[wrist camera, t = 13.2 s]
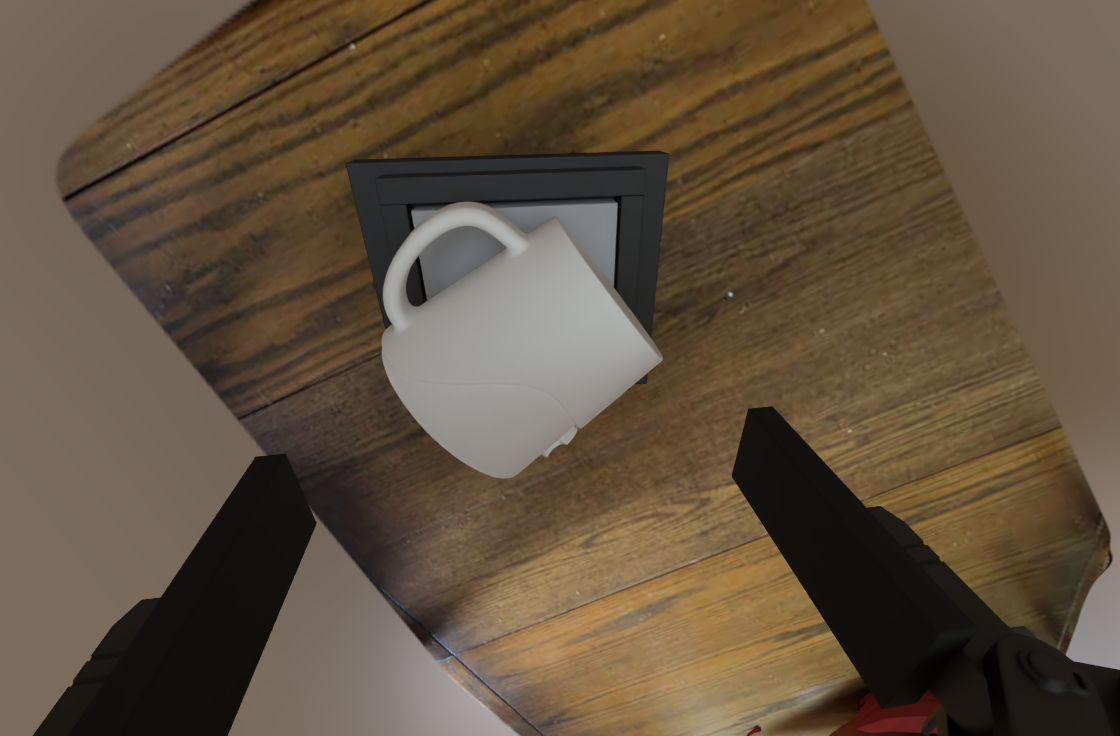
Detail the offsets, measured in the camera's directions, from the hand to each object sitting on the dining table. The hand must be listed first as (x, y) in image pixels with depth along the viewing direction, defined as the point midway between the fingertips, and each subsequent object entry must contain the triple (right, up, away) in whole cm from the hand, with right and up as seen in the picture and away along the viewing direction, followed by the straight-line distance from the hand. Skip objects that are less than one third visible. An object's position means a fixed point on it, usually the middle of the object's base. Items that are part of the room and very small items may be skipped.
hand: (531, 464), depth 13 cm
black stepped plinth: (-2, +8, +14) cm, 16 cm away
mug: (-2, +7, +11) cm, 13 cm away
